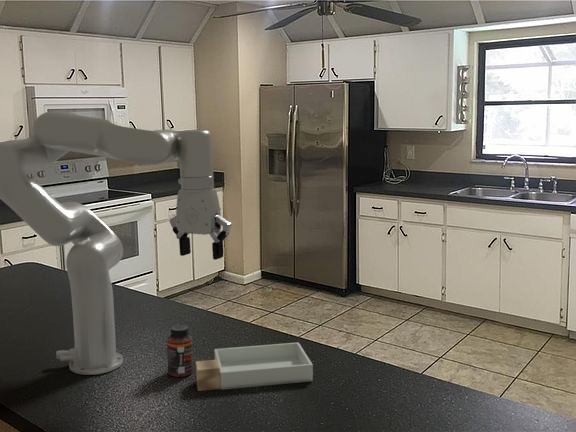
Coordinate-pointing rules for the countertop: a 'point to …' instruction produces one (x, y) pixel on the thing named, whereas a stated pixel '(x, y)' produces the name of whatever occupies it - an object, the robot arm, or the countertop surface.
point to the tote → (263, 365)
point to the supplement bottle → (180, 352)
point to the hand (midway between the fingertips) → (201, 256)
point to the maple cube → (207, 375)
